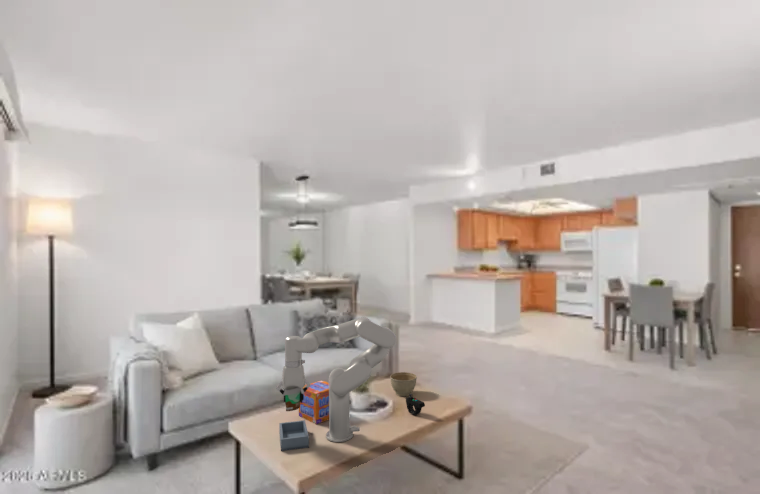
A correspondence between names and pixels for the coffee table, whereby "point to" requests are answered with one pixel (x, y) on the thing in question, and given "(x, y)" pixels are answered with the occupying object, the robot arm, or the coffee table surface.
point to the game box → (315, 403)
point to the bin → (293, 435)
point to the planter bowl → (403, 383)
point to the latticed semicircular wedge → (292, 399)
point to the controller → (416, 403)
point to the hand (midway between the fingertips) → (293, 402)
